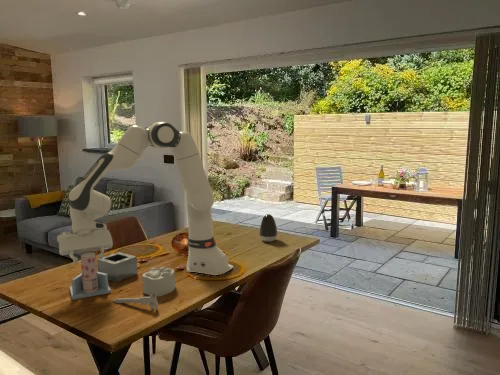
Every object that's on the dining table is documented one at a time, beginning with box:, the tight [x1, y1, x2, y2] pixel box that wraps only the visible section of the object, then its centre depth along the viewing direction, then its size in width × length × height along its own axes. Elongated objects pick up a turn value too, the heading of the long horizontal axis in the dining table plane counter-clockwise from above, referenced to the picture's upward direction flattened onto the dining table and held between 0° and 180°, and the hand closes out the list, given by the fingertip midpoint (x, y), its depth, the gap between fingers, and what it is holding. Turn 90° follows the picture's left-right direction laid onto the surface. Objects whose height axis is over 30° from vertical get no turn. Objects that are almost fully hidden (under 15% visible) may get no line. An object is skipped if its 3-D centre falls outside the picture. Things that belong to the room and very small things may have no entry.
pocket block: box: [96, 251, 138, 283], centre depth 191 cm, size 12×12×8 cm
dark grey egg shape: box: [258, 214, 278, 243], centre depth 241 cm, size 10×10×15 cm
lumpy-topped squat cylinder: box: [141, 266, 176, 298], centre depth 174 cm, size 10×13×9 cm
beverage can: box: [80, 251, 98, 293], centre depth 171 cm, size 6×6×15 cm
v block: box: [69, 271, 112, 301], centre depth 173 cm, size 12×14×7 cm
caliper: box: [112, 294, 159, 311], centre depth 160 cm, size 20×1×6 cm, turn 66°
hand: (88, 260), depth 169 cm, fingers open, 8 cm apart
